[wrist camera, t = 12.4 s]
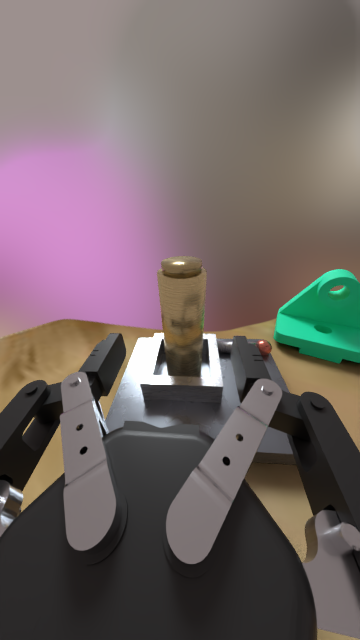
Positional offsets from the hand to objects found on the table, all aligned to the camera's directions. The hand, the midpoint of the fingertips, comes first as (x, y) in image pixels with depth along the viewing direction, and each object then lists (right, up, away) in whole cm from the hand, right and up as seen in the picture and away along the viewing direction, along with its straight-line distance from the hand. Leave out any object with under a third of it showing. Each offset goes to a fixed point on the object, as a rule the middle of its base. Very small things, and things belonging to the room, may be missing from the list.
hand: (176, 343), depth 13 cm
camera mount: (+21, -2, +15) cm, 26 cm away
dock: (+3, -7, +9) cm, 11 cm away
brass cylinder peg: (+1, -4, +8) cm, 9 cm away
